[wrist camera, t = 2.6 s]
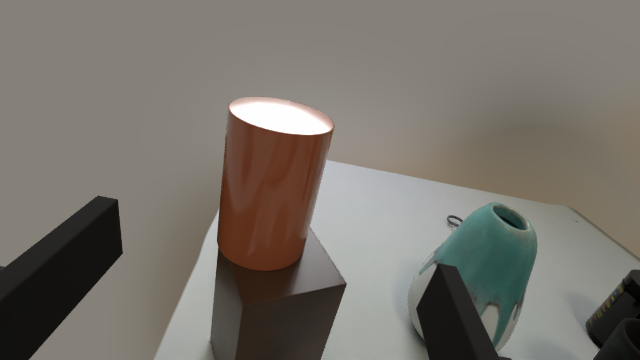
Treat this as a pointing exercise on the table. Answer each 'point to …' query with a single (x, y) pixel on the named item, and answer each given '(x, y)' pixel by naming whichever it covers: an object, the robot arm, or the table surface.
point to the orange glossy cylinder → (270, 180)
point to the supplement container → (616, 309)
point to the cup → (622, 342)
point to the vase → (486, 267)
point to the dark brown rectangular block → (276, 308)
